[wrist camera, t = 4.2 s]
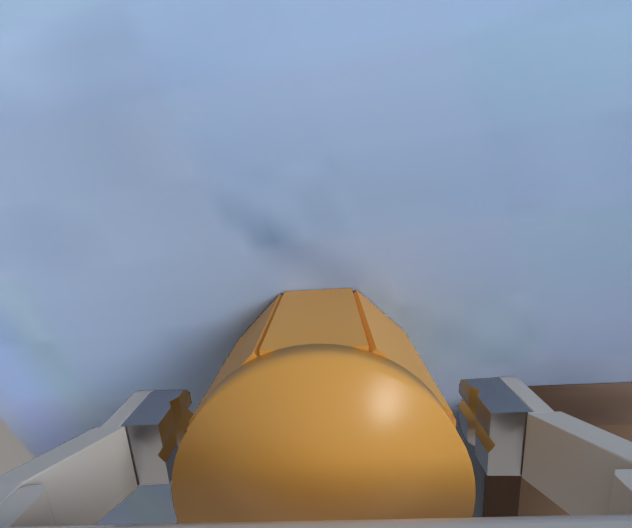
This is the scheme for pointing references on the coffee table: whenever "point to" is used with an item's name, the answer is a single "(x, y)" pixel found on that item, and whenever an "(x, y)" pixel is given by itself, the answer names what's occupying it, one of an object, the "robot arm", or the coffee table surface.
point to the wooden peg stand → (577, 401)
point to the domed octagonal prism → (322, 424)
